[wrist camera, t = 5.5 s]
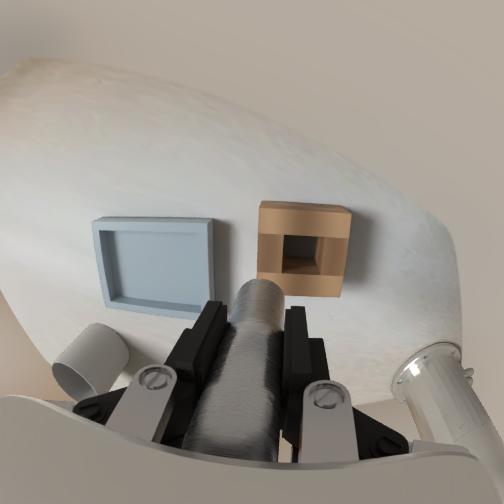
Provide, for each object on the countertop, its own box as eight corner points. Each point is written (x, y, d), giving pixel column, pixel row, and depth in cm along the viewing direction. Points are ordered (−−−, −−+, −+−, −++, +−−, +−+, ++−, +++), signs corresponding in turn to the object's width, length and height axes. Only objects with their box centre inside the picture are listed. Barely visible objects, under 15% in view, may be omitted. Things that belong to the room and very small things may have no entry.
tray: (213, 218, 28) (207, 223, 26) (215, 310, 32) (210, 321, 29) (103, 216, 29) (91, 221, 27) (115, 298, 33) (105, 307, 30)
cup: (126, 331, 34) (91, 375, 25) (133, 371, 37) (106, 415, 28) (81, 317, 35) (43, 353, 25) (91, 357, 38) (61, 394, 28)
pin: (286, 280, 13) (280, 480, 4) (283, 321, 14) (270, 510, 4) (237, 277, 13) (159, 460, 4) (237, 318, 14) (180, 496, 5)
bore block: (340, 205, 27) (351, 213, 22) (331, 277, 29) (340, 297, 25) (261, 200, 27) (258, 207, 23) (259, 274, 30) (256, 293, 25)
